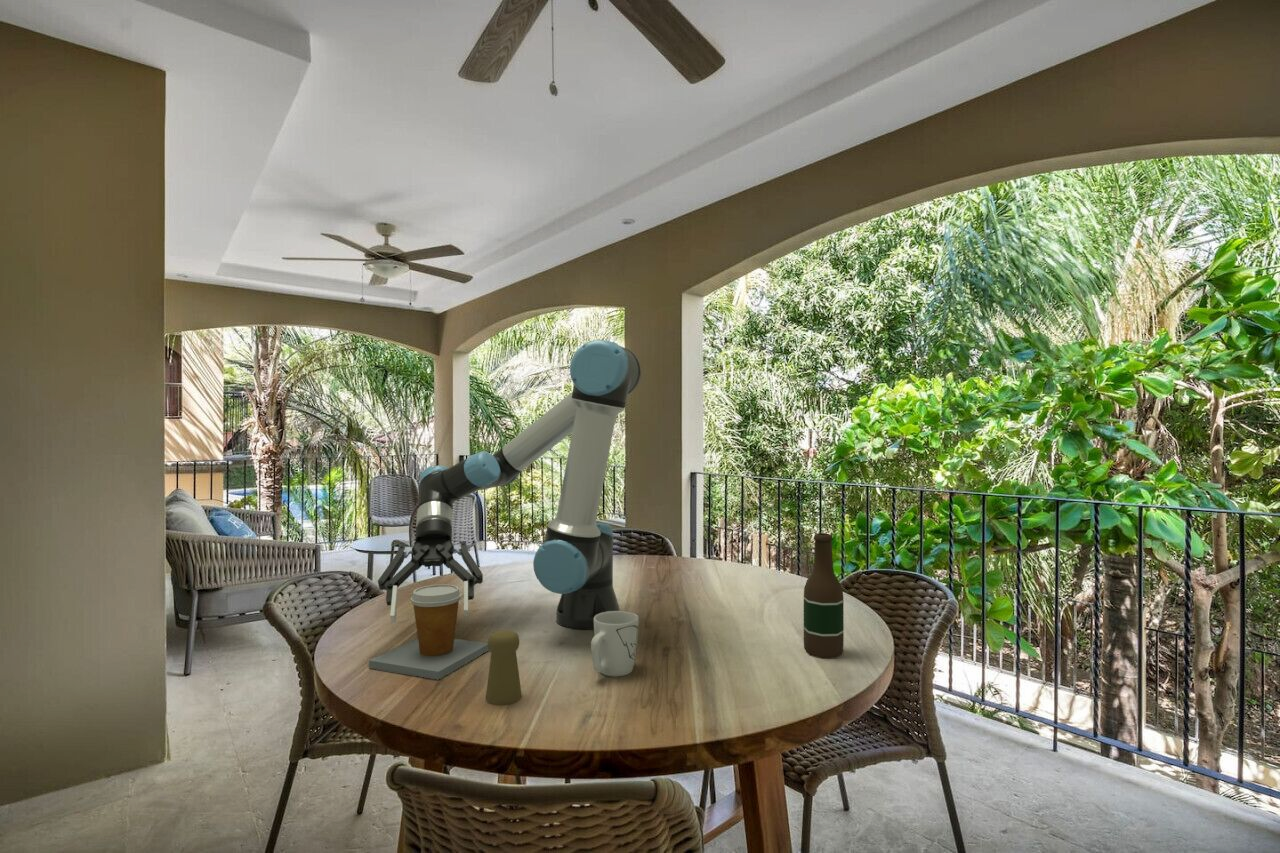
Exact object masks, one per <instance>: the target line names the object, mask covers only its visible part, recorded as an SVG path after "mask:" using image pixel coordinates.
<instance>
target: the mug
mask: <svg viewBox="0 0 1280 853" xmlns="http://www.w3.org/2000/svg"><path fill="white" fill-rule="evenodd" d="M639 622H640V620H639V616H638V615H637V614H636V613H634V612H630V611H626V610H625V611H624V610H620V611H608V612H603V613H599V614H597V615H596V616H595V617H594V629H593V631H594V632H593V633H594V634H593V635H594V636H593V637H592V639H591V641H590V650H591V651H590V652H591V659H592V666H593V669H594V670H595V671H596V672H599V673H601V674H602V675H604V676H608V677H612V678H613V677H615V678H616V677H617V678H618V677H625V676H627V675H630V674H631V673H632V671H633V669H634V666H635V659H636V654H637V648H638V636H639Z"/></svg>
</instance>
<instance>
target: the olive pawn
mask: <svg viewBox="0 0 1280 853" xmlns="http://www.w3.org/2000/svg"><path fill="white" fill-rule="evenodd" d="M487 643H488V648H489V651H490V652H489V653H491V654H490V659H489V660H490V661H489V662H490V663H489V669H488V678H487V684H486V685H487V686H486V691H485V692H486V693H485V701H486V702H487V704H490V705H494V704H495V705H496V706H503V705H504V706H506V705H510V704H513V703H516V702H518V701H519V700H521V699H522V698H523V695H522V689H521V687H522V686H521V681H520V680H521V678H520V673H519V666H518V657H517V650H518V649H519V646H520V637H519V635H518V633H517V632H516V631H514V630H511V629H509V630H508V629H505V630H504V629H503V630H502V629H501V630H497V631H494V632H493V633H491V634H490V636H489V637H488V640H487ZM495 705H494V706H495Z"/></svg>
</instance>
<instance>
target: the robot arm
mask: <svg viewBox="0 0 1280 853" xmlns="http://www.w3.org/2000/svg"><path fill="white" fill-rule="evenodd" d="M570 361H571V362H570V364H569V374H570V378H571V382H572V383H573V387H572V392H570V393H569V394H568V395H567V396H565V397H564V398H563V399H562V400H561V401H559V402H558V403H557V404H555V405H554V406H552V407H551V408H550V409H549V410H548V411H547V412H545V413H544V414H543V415H541V416H540V417H539V418H537V419H536V420H535V421H534V422H532V423H531V424H530V425H528V427H526V428H525V429H524V430H523V431H521V432H520V433H519V434H517V435H516V436H515V437H513V439H511V440H510V441H508V442H507V443H506V444H505V445H504V446H502V447H501V448H500V449H499V450H497V451H496V452H495V453H493V454H492V453H490V452H489V451H486V450H483V451H482V450H481V451H479V452H477V453H475V454H471V455H469V456H468V457H467V458H465V459H463V460H461V461H460V462H458V463H456V464H454V465H452V466H450V467H446V466H444V465H436V466H429V467H426V468H424V469H423V471H422V472H421V474H420V477H419V484H418V486H417V488H418V489H417V491H418V493H417V494H418V495H417V498H418V499H417V501H418V502H417V511H416V521H415V522H416V525H415V526H416V528H415V537H414V538H415V539H414V544H413V546H406V545H405V544H399V545H398V548H397V552H396V554H395V555H394V557H393V558H392V560H391V561H390V562H389V564H388V565H387V567H386V568H385V570H384V571H383V572H382V574H381V576H380V577H379V579H378V580H377V584H378V585H377V586H378V589H379V590H380V591H384V590H385V591H386V596H385V598H386V599H385V601H386V606H390V613H389V614H390V615H389V617H390V622H391V624H393V623H396V622H397V609H398V598H399V589H398V588H399V587H400V586H401V585H402V584H403V583H404V582H405V581H406V580H407V579H408V578H410V576H411V575H413V574H414V573H415V572H416V571H417V570H419V569H420V568H421V567H423V566H424V567H425V568H429V567H441V566H442V565H444V566H445V568H447V569H449V570H451V571H452V573H454V574H455V575H456V576H457V577H458V578H459V579H460V580H461V581H463V617H464V618H465V617H466V618H467V617H469V600H474V598H475V585H477V584H479V585H480V584H482V583H483V581H484V579H483V578H484V576H483V575H484V574H483V572H482V571H481V569H480V567H479V566H478V564H477V562H476V561H475V560H474V558H473V557H472V555H471V553H470V552H469V550H468V546H467V542H466V541H461V542H460V544H453V507H454V506H453V504H454V503H455V502H457V501H459V500H461V499H463V498H464V497H467V496H469V495H471V494H473V493H475V492H478V491H481V490H488V489H491V488H498V487H507V486H508V485H510V484H513V483H514V482H515V481H516V480H517V479H518V478H519V475H520V473H521V472H523V471H524V470H525V469H526V468H528V467H530V465H532V464H533V463H535V462H536V461H537V460H538V459H540V458H541V457H543V455H545V454H546V453H547V452H548V451H550V450H551V449H553V448H554V447H556V445H557V444H559V443H560V442H561V441H563V440H564V439H565V438H567V437H568V436H570V434H571V437H570V444H569V448H568V453H567V457H566V464H565V469H564V475H563V480H562V485H561V490H560V496H559V501H558V507H557V511H556V512H557V513H556V516H555V518H554V519H552V520H550V521H549V522H548V523H547V527H546V532H545V536H544V541H543V543H542V544H541V545H540V546H539V547H538V549H537V550H536V552H535V554H534V557H533V561H532V563H533V564H532V566H533V572H534V575H535V577H536V579H537V580H538V582H539V583H540V585H541V586H542V587H543V588H545V589H546V590H547V591H549V592H550V593H554V594H558V595H560V598H559V601H558V605H557V607H556V612H555V615H556V618H555V619H556V623H557V624H558V625H560V626H562V627H566V628H570V629H576V630H577V629H579V630H594V617H595V616H596V615H597V614H599V613H603V612H608V611H621V608H620V605H619V602H618V598H617V595H616V593H615V589H614V584H613V583H614V578H613V577H614V572H613V570H614V564H613V562H614V561H613V559H614V547H613V546H614V545H613V544H614V534H613V533H614V532H613V527H612V525H611V524H610V523H602V522H597V518H598V511H599V508H600V501H601V497H602V492H603V486H604V482H605V475H606V471H607V465H608V460H609V457H610V456H609V454H610V450H611V445H612V439H613V435H614V429H615V424H616V418H617V416H618V415H619V414H620V413H622V412H623V411H625V409H626V405H627V404H626V403H627V400H628V397H629V396H630V395H632V394H633V393H634V392H635V390H636V389H637V387H638V386H639V384H640V382H641V380H642V379H641V378H642V367H641V362H640V361H639V358H638V357H637V355H636V354H634V353H633V351H631V350H630V349H628V348H626V347H623V346H621V345H620V344H618V343H617V342H614V341H610V340H605V339H595V340H591V341H590V340H589V341H588V342H586V343H584V344H582V345H581V346H580V347H578V349H577V350H576V351H575V352H574V354H573V356H572V358H571V360H570ZM454 552H456V553H457V555H459V556H460V557H461V559H462V561H463V562H464V564H465V565H466V567H467V569H468V570H469V571H468V570H467V569H466V568H465V567H464V566H463V565H462V564H460V563H459V562H458V561H457V560H456V559H455V558H454V557H453V554H454ZM411 554H412V555H413V556H412V557H411V559H410V560H409V562H408V563H407V564H405V565H404V566H403V567H402V568H401V569H400V567H401V566H402V564H403V563H404V560H405V559H407V558H408V557H409V555H411ZM399 569H400V570H399ZM398 570H399V571H398Z"/></svg>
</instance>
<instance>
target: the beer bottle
mask: <svg viewBox="0 0 1280 853" xmlns="http://www.w3.org/2000/svg"><path fill="white" fill-rule="evenodd" d="M813 540H814V555H813V566H812V573H811V574H810V576H809V577H808V579H807V580H806V582H805V586H804V588H803V589H804V590H803V648H804V650H806V651H805V652H806V653H807V654H808V656H811V657H815V658H818V659H837V658H838V657H840V656H842V655H843V654H844V642H845V640H844V638H845V637H844V636H845V635H844V625H845V624H844V623H845V622H844V621H845V620H844V618H845V617H844V616H845V615H844V611H845V610H844V593H843V592H844V590H843V588H842V584H841V582H840V581H839V579H838V578H837V576H836V575H835V570H834V560H833V559H834V558H833V548H832V547H833V546H832V545H833V544H832V541H833V540H834V537H833V535H832V534H829V533H827V532H826V533H825V532H818V533H815V534H814V535H813Z"/></svg>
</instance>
